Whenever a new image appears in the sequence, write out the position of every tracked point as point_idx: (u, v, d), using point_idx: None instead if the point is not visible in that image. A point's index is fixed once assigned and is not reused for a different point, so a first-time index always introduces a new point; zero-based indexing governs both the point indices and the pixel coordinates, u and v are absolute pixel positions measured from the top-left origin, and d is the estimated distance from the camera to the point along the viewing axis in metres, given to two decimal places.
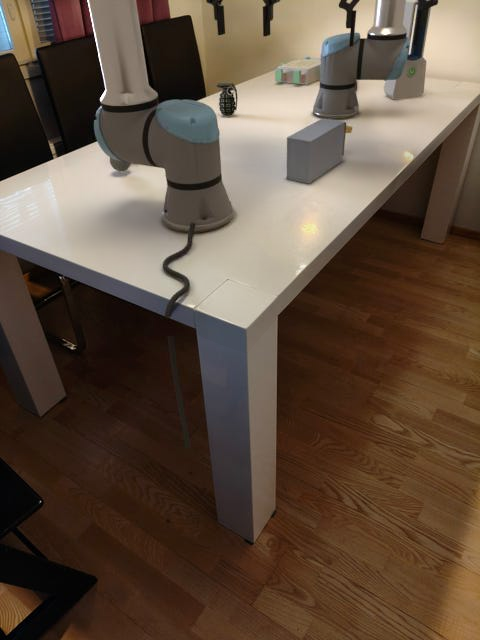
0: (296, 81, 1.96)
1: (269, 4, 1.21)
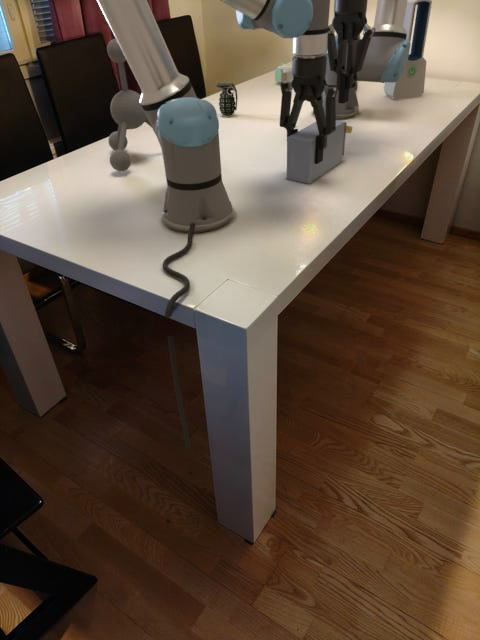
0: None
1: (322, 135, 1.13)
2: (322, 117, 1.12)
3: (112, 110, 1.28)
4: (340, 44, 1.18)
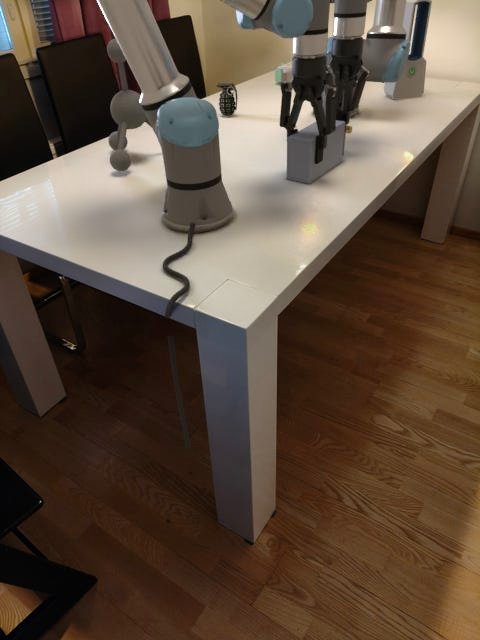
0: None
1: (322, 135, 1.13)
2: (322, 117, 1.12)
3: (112, 110, 1.28)
4: (337, 83, 1.23)
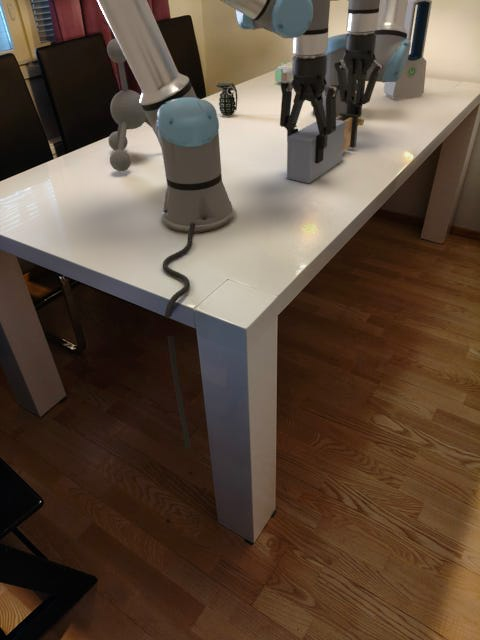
0: None
1: (323, 135, 1.13)
2: (322, 117, 1.12)
3: (112, 110, 1.28)
4: (350, 77, 1.28)
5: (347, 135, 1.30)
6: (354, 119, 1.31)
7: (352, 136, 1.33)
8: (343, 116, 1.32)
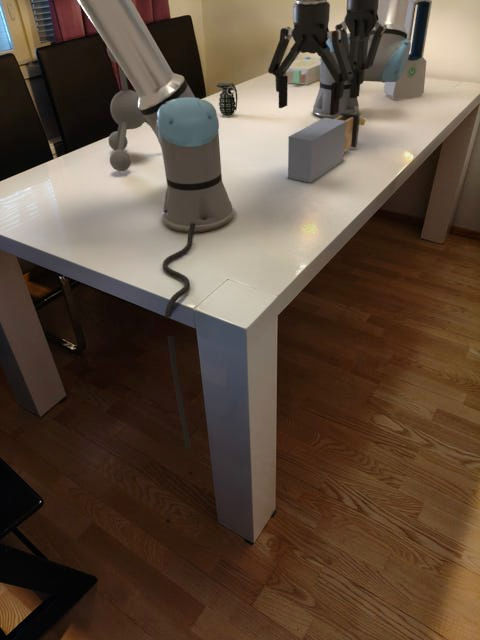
0: (296, 81, 1.96)
1: (339, 82, 1.04)
2: (333, 64, 1.04)
3: (112, 110, 1.28)
4: (352, 40, 1.22)
5: (348, 135, 1.31)
6: (355, 118, 1.31)
7: (353, 136, 1.34)
8: (344, 116, 1.32)
